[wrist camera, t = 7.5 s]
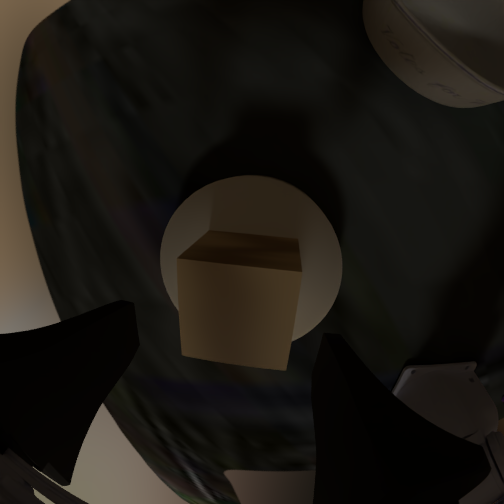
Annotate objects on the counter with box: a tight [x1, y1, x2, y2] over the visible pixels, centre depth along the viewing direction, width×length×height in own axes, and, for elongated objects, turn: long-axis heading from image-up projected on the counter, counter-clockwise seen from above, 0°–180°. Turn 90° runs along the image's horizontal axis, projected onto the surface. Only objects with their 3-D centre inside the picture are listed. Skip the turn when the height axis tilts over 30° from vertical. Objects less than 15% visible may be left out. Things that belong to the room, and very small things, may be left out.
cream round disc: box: [160, 175, 342, 341], centre depth 18 cm, size 11×11×3 cm
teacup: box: [362, 0, 504, 108], centre depth 8 cm, size 14×11×8 cm
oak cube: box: [177, 230, 302, 370], centre depth 14 cm, size 5×5×5 cm
